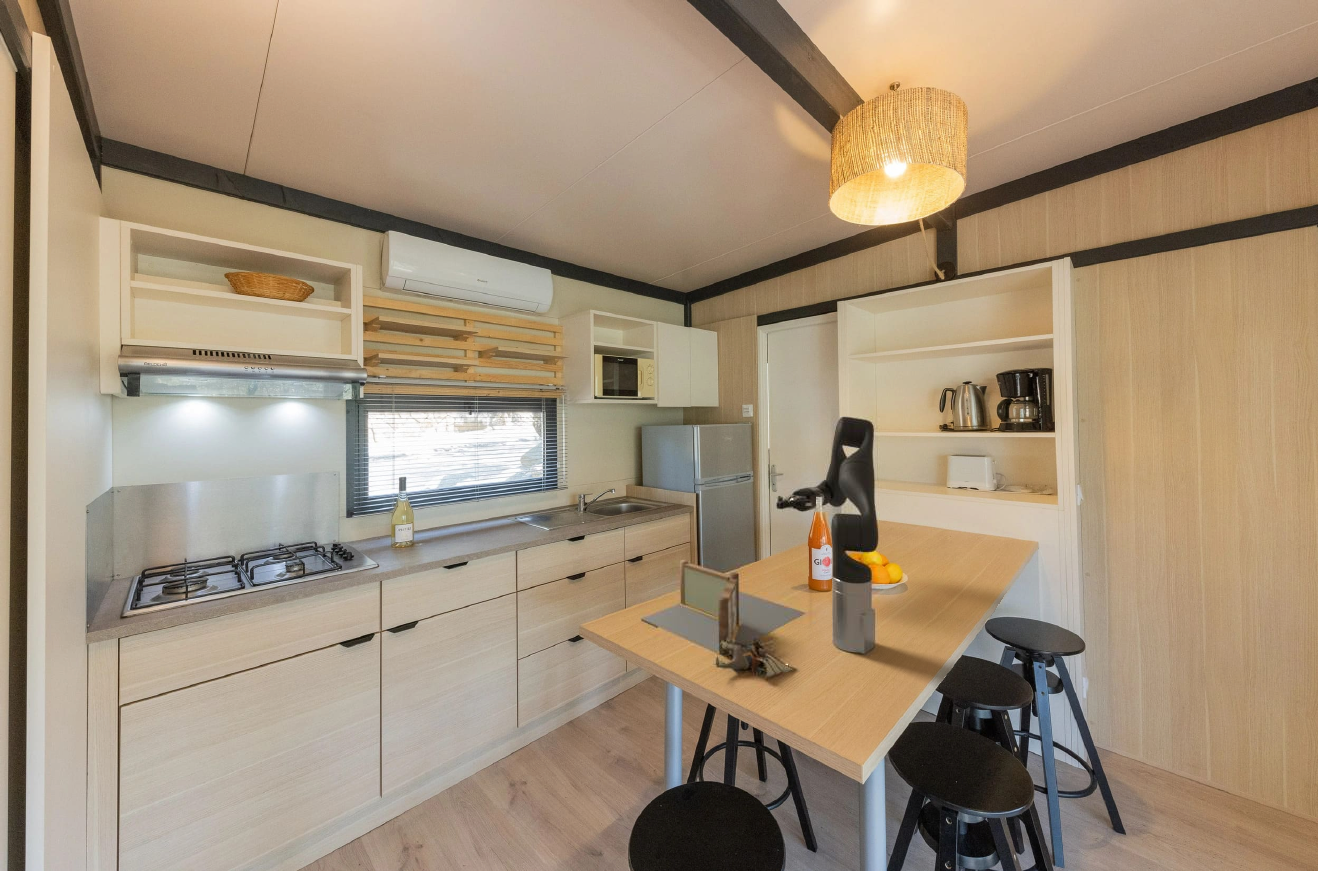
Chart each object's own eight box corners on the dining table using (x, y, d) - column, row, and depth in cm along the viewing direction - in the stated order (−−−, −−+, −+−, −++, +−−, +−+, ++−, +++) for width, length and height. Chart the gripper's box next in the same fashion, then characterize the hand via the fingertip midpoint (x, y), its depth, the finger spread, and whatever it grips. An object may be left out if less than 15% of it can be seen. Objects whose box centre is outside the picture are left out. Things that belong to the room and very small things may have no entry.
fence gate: (733, 619, 137) (732, 573, 136) (727, 621, 135) (727, 575, 135) (684, 600, 151) (683, 559, 151) (679, 602, 150) (678, 561, 149)
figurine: (743, 619, 124) (808, 642, 114) (741, 641, 125) (805, 666, 115) (704, 651, 108) (776, 681, 98) (702, 676, 108) (773, 708, 99)
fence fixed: (731, 621, 136) (730, 572, 136) (739, 621, 136) (739, 572, 135) (718, 654, 117) (717, 597, 117) (727, 655, 117) (727, 598, 116)
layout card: (807, 614, 141) (807, 612, 141) (725, 659, 116) (725, 656, 116) (724, 587, 164) (724, 586, 164) (640, 620, 139) (640, 618, 139)
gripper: (790, 485, 168) (761, 491, 157) (825, 489, 159) (797, 496, 147) (790, 507, 169) (761, 514, 157) (826, 512, 159) (797, 520, 147)
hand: (778, 505), depth 152 cm, fingers closed
